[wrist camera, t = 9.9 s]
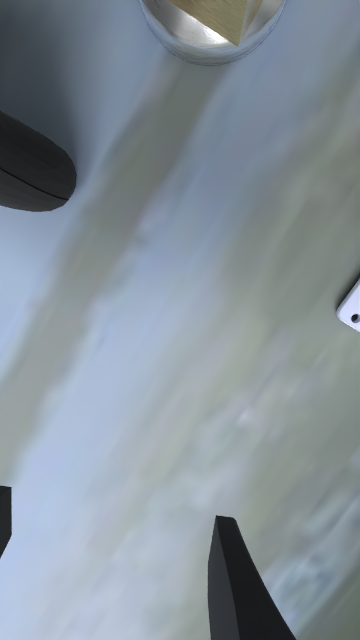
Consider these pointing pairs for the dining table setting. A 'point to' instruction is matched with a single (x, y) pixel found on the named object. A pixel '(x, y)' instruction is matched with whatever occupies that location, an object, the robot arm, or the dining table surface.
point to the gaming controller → (32, 169)
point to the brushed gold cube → (223, 15)
